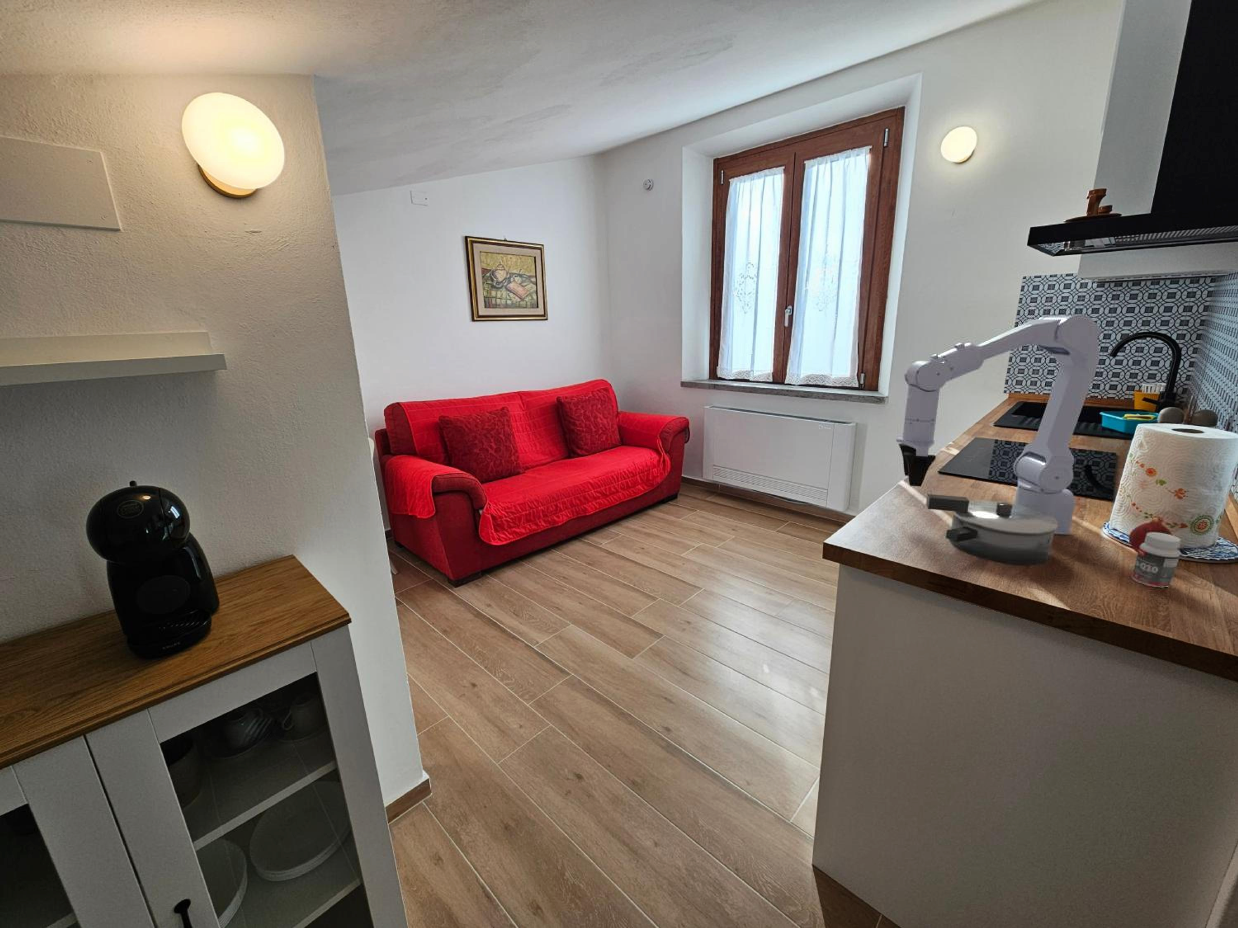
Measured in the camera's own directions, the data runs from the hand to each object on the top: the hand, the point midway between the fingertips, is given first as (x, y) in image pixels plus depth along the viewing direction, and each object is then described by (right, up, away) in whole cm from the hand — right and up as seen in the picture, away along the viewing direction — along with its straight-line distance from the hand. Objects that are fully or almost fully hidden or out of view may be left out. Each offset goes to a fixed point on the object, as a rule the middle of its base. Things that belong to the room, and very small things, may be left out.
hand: (912, 480), depth 113 cm
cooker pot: (+9, -13, -11) cm, 19 cm away
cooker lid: (+9, -7, -11) cm, 15 cm away
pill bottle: (+27, -17, -25) cm, 40 cm away
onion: (+34, -14, -16) cm, 41 cm away
